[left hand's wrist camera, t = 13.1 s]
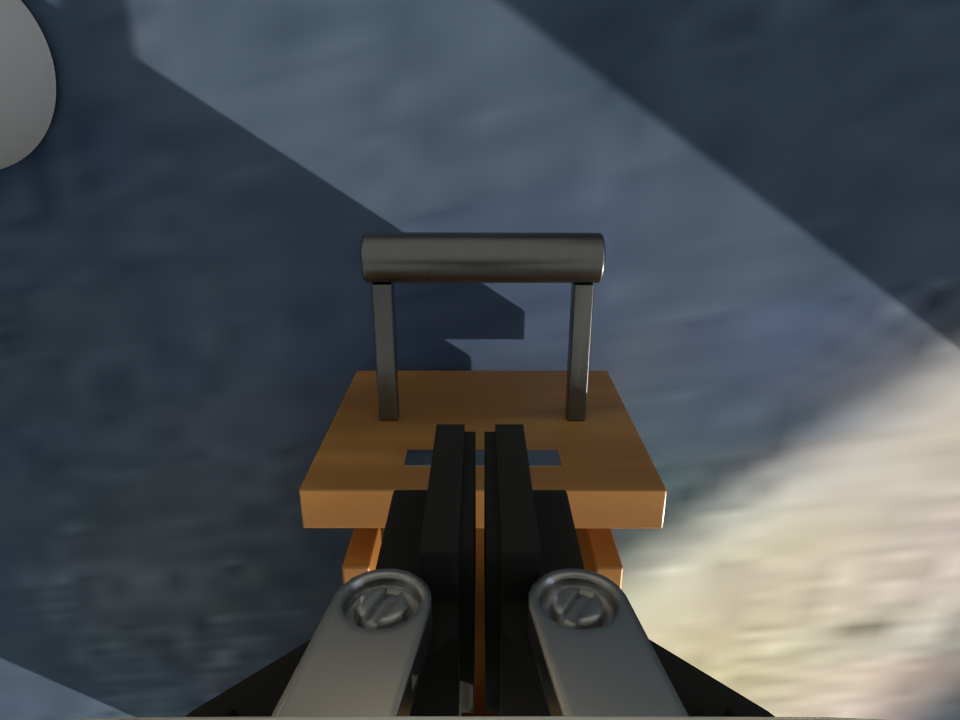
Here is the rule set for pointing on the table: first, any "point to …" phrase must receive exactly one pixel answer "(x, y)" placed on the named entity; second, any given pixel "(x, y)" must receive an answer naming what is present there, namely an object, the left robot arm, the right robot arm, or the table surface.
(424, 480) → the drawer
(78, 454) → the table surface
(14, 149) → the coffee cup
